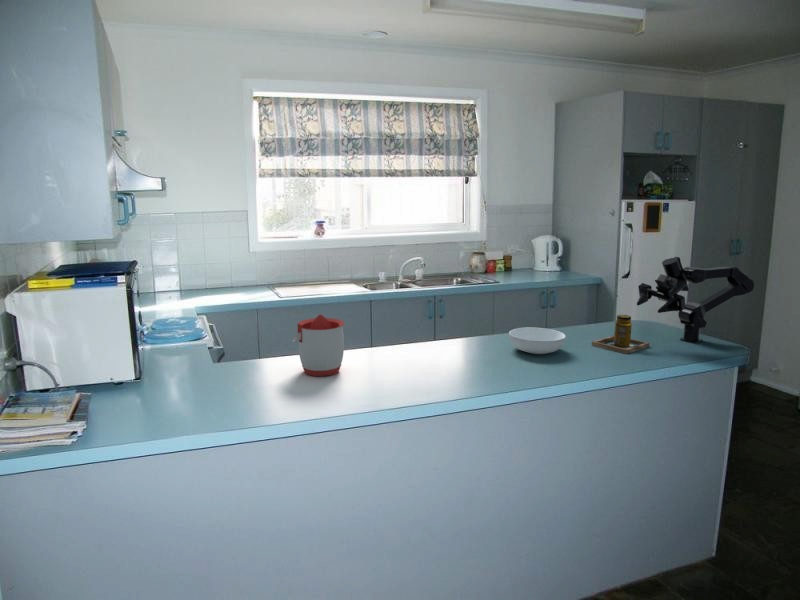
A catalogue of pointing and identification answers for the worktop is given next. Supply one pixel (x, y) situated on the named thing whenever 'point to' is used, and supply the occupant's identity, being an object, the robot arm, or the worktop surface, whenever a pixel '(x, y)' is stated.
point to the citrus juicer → (320, 345)
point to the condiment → (622, 332)
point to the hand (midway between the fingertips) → (647, 308)
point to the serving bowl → (537, 340)
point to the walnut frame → (600, 344)
